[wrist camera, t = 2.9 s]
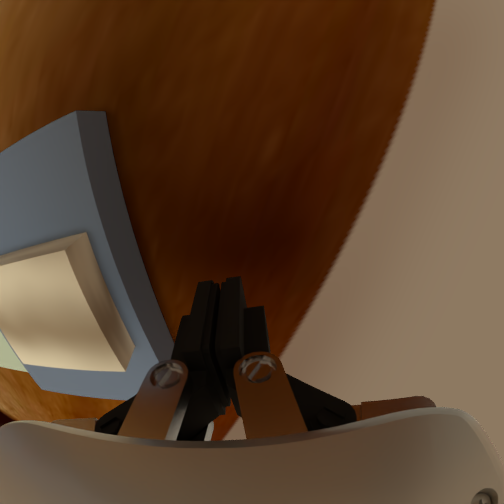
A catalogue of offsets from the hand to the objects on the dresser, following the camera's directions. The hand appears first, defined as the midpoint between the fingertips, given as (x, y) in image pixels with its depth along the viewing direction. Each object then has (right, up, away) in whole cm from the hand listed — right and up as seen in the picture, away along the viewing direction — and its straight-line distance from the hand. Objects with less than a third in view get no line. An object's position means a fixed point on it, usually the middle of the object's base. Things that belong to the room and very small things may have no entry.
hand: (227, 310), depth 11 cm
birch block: (-11, -1, +2) cm, 11 cm away
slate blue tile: (-12, +1, +4) cm, 13 cm away
